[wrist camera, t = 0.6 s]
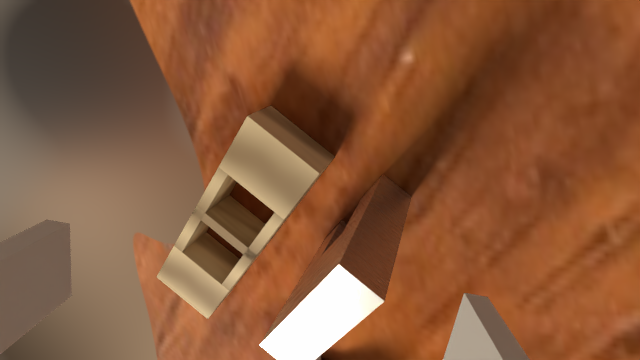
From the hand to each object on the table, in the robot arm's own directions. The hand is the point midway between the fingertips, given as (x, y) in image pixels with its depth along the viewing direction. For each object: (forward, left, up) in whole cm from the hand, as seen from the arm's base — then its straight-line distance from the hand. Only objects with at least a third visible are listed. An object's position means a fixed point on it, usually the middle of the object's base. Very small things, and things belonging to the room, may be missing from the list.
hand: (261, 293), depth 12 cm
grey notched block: (+7, +4, -20) cm, 21 cm away
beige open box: (+15, -5, -20) cm, 25 cm away
